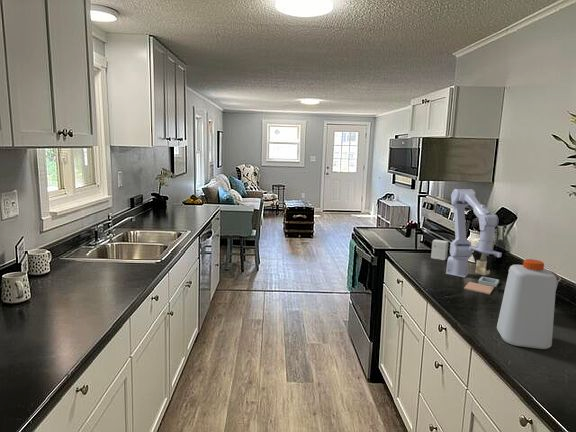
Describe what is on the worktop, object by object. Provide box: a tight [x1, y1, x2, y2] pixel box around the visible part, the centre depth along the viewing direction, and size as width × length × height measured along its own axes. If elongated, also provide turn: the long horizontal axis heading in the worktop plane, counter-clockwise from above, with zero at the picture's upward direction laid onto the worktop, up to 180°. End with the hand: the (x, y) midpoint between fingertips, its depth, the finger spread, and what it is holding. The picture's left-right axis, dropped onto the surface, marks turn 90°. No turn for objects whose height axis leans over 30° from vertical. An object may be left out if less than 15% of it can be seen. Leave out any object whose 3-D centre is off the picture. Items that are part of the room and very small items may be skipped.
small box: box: [430, 239, 449, 261], centre depth 244 cm, size 8×6×10 cm
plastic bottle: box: [496, 258, 557, 350], centre depth 143 cm, size 15×15×28 cm
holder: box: [477, 275, 500, 288], centre depth 204 cm, size 8×8×2 cm
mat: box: [463, 281, 495, 295], centre depth 195 cm, size 11×11×1 cm
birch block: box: [474, 258, 491, 276], centre depth 194 cm, size 4×4×6 cm
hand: (482, 268), depth 194 cm, fingers closed on birch block, 4 cm apart
